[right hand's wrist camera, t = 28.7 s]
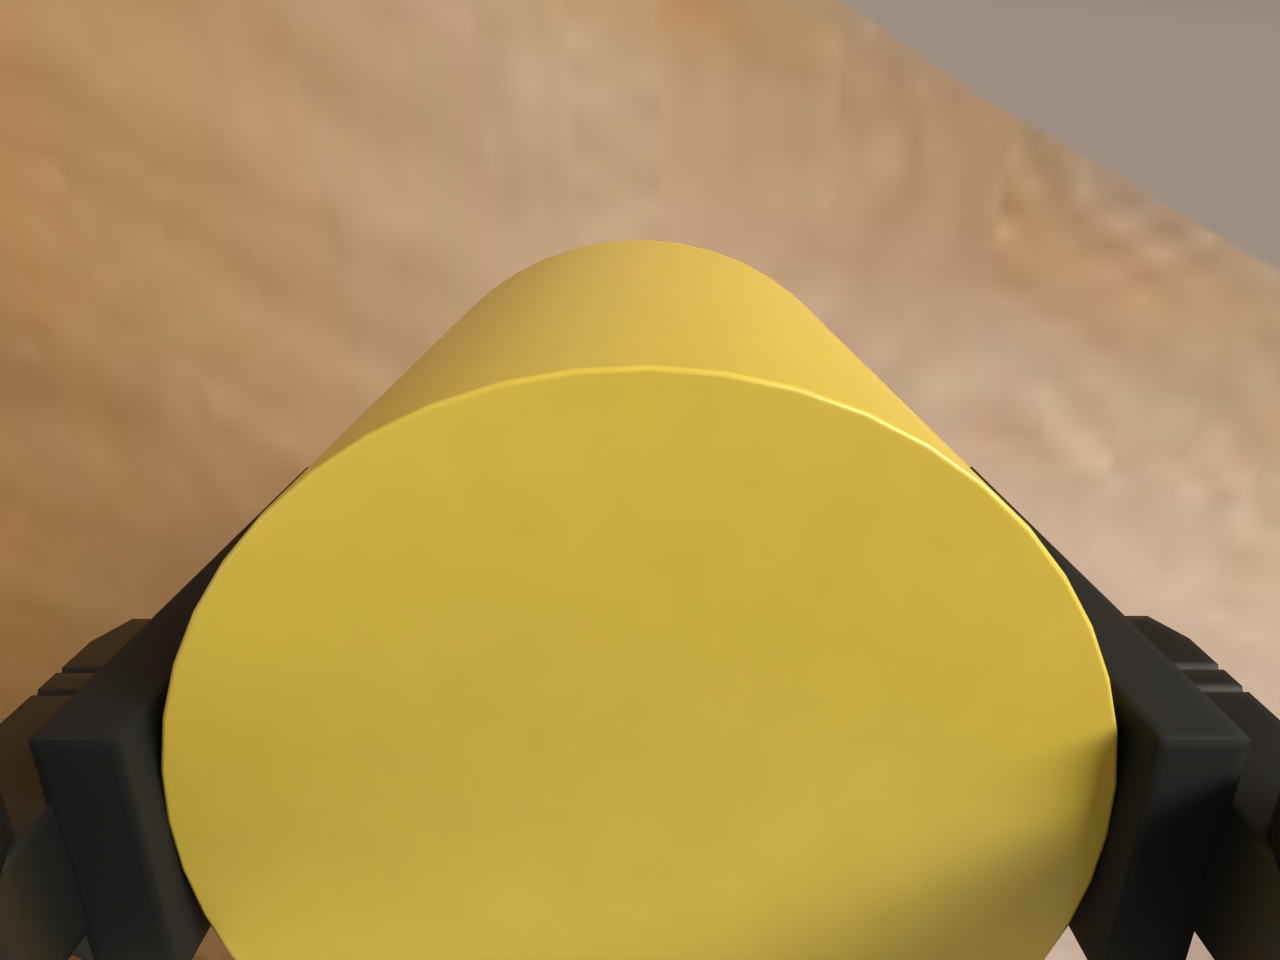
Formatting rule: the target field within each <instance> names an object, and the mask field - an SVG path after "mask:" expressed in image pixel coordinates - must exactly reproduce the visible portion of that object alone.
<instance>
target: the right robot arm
mask: <svg viewBox="0 0 1280 960" xmlns="http://www.w3.org/2000/svg"><path fill="white" fill-rule="evenodd" d="M307 468H308V467H307ZM307 468H306V469H307ZM969 468H970V469H971V470H972V471H973V472H974V473H975V474H976V475H978V476H979V477H980V478H981V479H982V480H983V481H984V482H985V483H986V484H987V485H988V486H989V487H990V488H991V489H992V490H993V491H994V492H995V493H996V494H997V495H998V496H999V497H1000V498H1001V499H1002V500H1003V501H1004V502H1005V503H1006V504H1007V505H1008V506H1009V507H1010V508H1011V509H1012V510H1013V511H1014V512H1015V513H1016V514H1017V515H1018V516H1019V517H1020V518H1021V519H1022V520H1023V521H1024V522H1025V523H1026V524H1027V525H1028V526H1029V527H1030V528H1031V529H1032V531H1033V532H1034V533H1035V535H1036V536H1037V537H1038V539H1039V540H1040V541H1041V543H1042V544H1043V545H1044V547H1045V548H1046V549H1047V551H1048V552H1049V553H1050V555H1051V556H1052V557H1053V559H1054V560H1055V561H1056V563H1057V564H1058V565H1059V567H1060V568H1061V569H1062V571H1063V572H1064V573H1065V575H1066V577H1067V578H1068V580H1069V582H1070V584H1071V586H1072V588H1073V590H1074V592H1075V594H1076V596H1077V598H1078V599H1079V601H1080V603H1081V605H1082V607H1083V609H1084V611H1085V613H1086V615H1087V617H1088V619H1089V620H1090V622H1091V624H1092V627H1093V630H1094V633H1095V636H1096V639H1097V642H1098V645H1099V648H1100V651H1101V654H1102V657H1103V660H1104V663H1105V666H1106V669H1107V672H1108V675H1109V679H1110V686H1111V692H1112V699H1113V706H1114V712H1115V719H1116V726H1117V733H1118V736H1117V786H1116V791H1115V797H1114V802H1113V808H1112V813H1111V819H1110V824H1109V830H1108V835H1107V838H1106V840H1105V843H1104V846H1103V849H1102V852H1101V855H1100V858H1099V861H1098V864H1097V866H1096V869H1095V872H1094V875H1093V878H1092V881H1091V883H1090V885H1089V887H1088V889H1087V891H1086V893H1085V894H1084V896H1083V898H1082V900H1081V902H1080V904H1079V906H1078V908H1077V910H1076V912H1075V914H1074V916H1073V917H1072V919H1071V921H1070V923H1069V927H1070V929H1071V930H1072V932H1073V934H1074V936H1075V938H1076V940H1077V941H1078V943H1079V945H1080V947H1081V949H1082V951H1083V952H1084V954H1085V956H1086V958H1087V960H1186V957H1187V954H1188V950H1189V947H1190V944H1191V940H1192V937H1193V934H1194V931H1195V933H1196V934H1197V935H1198V937H1199V938H1200V940H1201V941H1202V942H1203V944H1204V945H1205V947H1206V948H1207V950H1208V951H1209V952H1210V954H1211V955H1212V957H1213V958H1214V960H1280V720H1279V719H1278V718H1277V717H1276V716H1275V715H1273V714H1272V713H1271V712H1270V711H1269V710H1268V709H1267V708H1266V707H1265V706H1263V705H1262V704H1261V703H1260V702H1259V701H1258V700H1257V699H1256V698H1255V697H1253V696H1252V695H1251V694H1250V693H1249V692H1243V690H1242V686H1241V685H1240V684H1239V683H1238V682H1237V681H1236V680H1235V679H1233V678H1232V677H1231V676H1230V675H1229V674H1228V673H1227V672H1226V671H1225V670H1219V669H1218V664H1217V663H1216V662H1215V661H1214V660H1212V659H1211V658H1210V657H1209V656H1208V655H1207V654H1206V653H1205V652H1204V651H1202V650H1201V649H1200V648H1199V647H1198V646H1197V645H1196V644H1195V643H1194V642H1192V641H1191V640H1190V639H1189V638H1187V637H1186V636H1184V635H1182V634H1180V633H1178V632H1176V631H1174V630H1172V629H1171V628H1169V627H1167V626H1165V625H1163V624H1161V623H1159V622H1157V621H1156V620H1154V619H1152V618H1150V617H1148V616H1124V615H1123V614H1122V613H1121V612H1120V611H1119V610H1118V609H1117V608H1116V607H1115V606H1114V605H1113V604H1112V603H1111V602H1110V601H1109V600H1108V599H1107V598H1106V597H1105V596H1104V595H1103V594H1102V593H1101V592H1100V591H1099V590H1098V589H1097V588H1095V587H1094V586H1093V585H1092V584H1091V583H1090V582H1089V581H1088V580H1087V579H1086V578H1085V577H1084V576H1083V575H1082V574H1081V573H1080V572H1079V571H1078V570H1077V569H1076V568H1075V567H1074V566H1073V565H1072V564H1071V563H1070V562H1069V561H1068V560H1067V559H1066V558H1065V557H1064V556H1063V555H1062V554H1061V553H1060V552H1059V551H1058V550H1057V549H1056V548H1055V547H1053V546H1052V545H1051V544H1050V543H1049V542H1048V541H1047V540H1046V539H1045V538H1044V537H1043V536H1042V535H1041V534H1040V533H1039V532H1038V531H1037V530H1036V529H1035V528H1034V527H1033V526H1032V525H1031V524H1030V523H1029V522H1028V521H1027V520H1026V519H1025V518H1024V517H1023V516H1022V515H1021V514H1020V513H1019V512H1018V511H1017V510H1016V509H1015V508H1014V507H1012V506H1011V505H1010V504H1009V503H1008V502H1007V501H1006V500H1005V499H1004V498H1003V497H1002V496H1001V495H1000V494H999V493H998V492H997V491H996V490H995V489H994V488H993V487H992V486H991V485H990V484H989V483H988V482H987V481H986V480H985V479H984V478H983V477H982V476H981V475H980V474H979V473H978V472H977V471H976V470H975V469H974V468H973V467H969ZM306 469H305V470H306ZM305 470H304V471H305ZM304 471H303V472H304ZM303 472H302V473H303ZM302 473H301V474H302ZM301 474H300V475H301ZM300 475H299V476H300ZM299 476H298V477H299ZM298 477H297V478H298ZM297 478H296V479H297ZM296 479H295V480H296ZM295 480H294V481H295ZM294 481H293V482H294ZM293 482H291V483H290V484H289V485H288V486H287V487H286V488H285V489H284V490H283V491H282V492H281V493H280V494H279V495H278V496H277V497H276V498H275V499H274V500H273V501H272V502H271V503H270V504H269V505H268V506H267V507H266V508H268V507H269V506H270V505H271V504H272V503H273V502H274V501H275V500H276V499H277V498H278V497H279V496H280V495H281V494H282V493H283V492H284V491H285V490H286V489H287V488H288V487H289V486H290V485H291V484H292V483H293ZM266 508H265V509H266ZM265 509H264V510H265ZM264 510H263V511H264ZM263 511H262V512H263ZM262 512H261V513H262ZM261 513H260V514H259V515H258V516H257V517H256V518H255V519H254V520H253V521H252V522H250V523H249V524H248V525H247V526H246V527H245V528H244V529H243V530H242V531H241V532H240V533H239V534H238V535H237V536H236V537H235V538H234V539H233V540H232V541H231V542H230V543H229V544H228V545H227V546H226V547H225V548H224V549H223V550H222V551H221V552H220V553H219V554H218V555H217V556H216V557H215V558H214V559H213V560H212V561H210V562H209V563H208V564H207V565H206V566H205V567H204V568H203V569H202V570H201V571H200V572H199V573H198V574H197V575H196V576H195V577H194V578H193V579H192V580H191V581H190V582H189V583H188V584H187V585H186V586H185V587H184V588H183V589H182V590H181V591H180V592H179V593H178V594H177V595H176V596H175V597H174V598H173V599H172V600H171V601H169V602H168V603H167V604H166V605H165V606H164V607H163V608H162V609H161V610H160V611H159V612H158V613H157V614H156V615H155V616H154V617H153V618H152V619H132V620H130V621H128V622H126V623H125V624H123V625H121V626H119V627H117V628H115V629H113V630H112V631H110V632H108V633H106V634H104V635H102V636H100V637H99V638H97V639H95V640H93V641H91V642H90V643H89V644H88V645H87V646H86V647H84V648H83V649H82V650H81V651H80V652H79V653H78V654H77V655H76V656H75V657H73V658H72V659H71V660H70V661H69V662H68V663H67V664H66V665H65V666H64V667H62V673H56V674H55V675H54V676H53V677H51V678H50V679H49V680H48V681H47V682H46V683H45V684H44V685H43V686H42V687H40V688H39V689H38V694H37V696H31V697H29V698H28V699H27V700H26V701H25V702H24V703H23V704H22V705H21V706H20V707H18V708H17V709H16V710H15V711H14V712H13V713H12V714H11V715H10V716H9V717H7V718H6V719H5V720H4V721H3V722H2V723H1V724H0V960H68V959H69V958H70V956H71V955H72V954H73V955H75V956H77V957H79V958H80V959H82V960H192V959H193V957H194V955H195V953H196V951H197V949H198V948H199V946H200V944H201V942H202V940H203V938H204V937H205V935H206V933H207V931H208V929H209V927H210V926H211V924H210V923H209V921H208V920H207V918H206V917H205V915H204V913H203V911H202V909H201V907H200V905H199V903H198V901H197V899H196V897H195V894H194V892H193V890H192V888H191V886H190V884H189V882H188V880H187V877H186V875H185V873H184V871H183V869H182V866H181V863H180V859H179V856H178V853H177V849H176V846H175V843H174V839H173V836H172V833H171V829H170V826H169V823H168V818H167V810H166V803H165V795H164V788H163V781H162V773H161V757H162V723H163V713H164V708H165V703H166V698H167V693H168V688H169V683H170V678H171V673H172V668H173V663H174V660H175V658H176V655H177V652H178V650H179V647H180V645H181V642H182V639H183V637H184V634H185V631H186V629H187V626H188V624H189V621H190V618H191V616H192V613H193V611H194V609H195V607H196V605H197V604H198V602H199V600H200V599H201V597H202V595H203V593H204V592H205V590H206V588H207V587H208V585H209V583H210V582H211V580H212V578H213V576H214V575H215V573H216V571H217V570H218V568H219V566H220V564H221V563H222V561H223V560H224V558H225V557H226V556H227V555H228V554H229V552H230V551H231V550H232V549H233V547H234V546H235V545H236V544H237V543H238V541H239V540H240V539H241V538H242V537H243V535H244V534H245V533H246V532H247V530H248V529H249V528H250V527H251V526H252V524H253V523H254V522H255V521H256V520H257V518H258V517H259V516H260V515H261Z"/></svg>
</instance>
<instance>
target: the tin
mask: <svg viewBox="0 0 1280 960" xmlns="http://www.w3.org/2000/svg"><path fill="white" fill-rule="evenodd" d="M1117 736H1118V733H1117V726H1116V719H1115V712H1114V706H1113V699H1112V692H1111V686H1110V679H1109V675H1108V672H1107V669H1106V666H1105V663H1104V660H1103V657H1102V654H1101V651H1100V648H1099V645H1098V642H1097V639H1096V636H1095V633H1094V630H1093V627H1092V624H1091V622H1090V620H1089V619H1088V617H1087V615H1086V613H1085V611H1084V609H1083V607H1082V605H1081V603H1080V601H1079V599H1078V598H1077V596H1076V594H1075V592H1074V590H1073V588H1072V586H1071V584H1070V582H1069V580H1068V578H1067V577H1066V575H1065V573H1064V572H1063V571H1062V569H1061V568H1060V567H1059V565H1058V564H1057V563H1056V561H1055V560H1054V559H1053V557H1052V556H1051V555H1050V553H1049V552H1048V551H1047V549H1046V548H1045V547H1044V545H1043V544H1042V543H1041V541H1040V540H1039V539H1038V537H1037V536H1036V535H1035V533H1034V532H1033V531H1032V529H1031V528H1030V527H1029V526H1028V525H1027V524H1026V523H1025V522H1024V521H1023V520H1022V519H1021V518H1020V517H1019V516H1018V515H1017V514H1016V513H1015V512H1014V511H1013V510H1012V509H1011V508H1010V507H1009V506H1008V505H1007V504H1006V503H1005V502H1004V501H1003V500H1002V499H1001V498H1000V497H999V496H998V495H997V494H996V493H995V492H994V491H993V490H992V489H991V488H990V487H989V486H988V485H987V484H986V483H985V482H984V481H983V480H982V479H981V478H980V477H979V476H978V475H976V474H975V473H974V472H973V471H972V470H971V469H970V468H969V467H968V466H967V465H966V464H965V463H964V462H963V461H962V460H961V459H960V458H959V457H958V456H957V455H956V454H955V453H954V452H953V451H952V450H951V449H950V448H949V447H948V446H947V445H946V444H945V443H944V442H943V441H942V440H941V439H940V438H939V437H938V436H937V435H936V434H935V433H934V432H933V431H932V430H931V429H930V428H929V427H928V426H927V425H926V424H925V423H924V422H923V421H921V420H920V419H919V418H918V417H917V416H916V415H915V414H914V413H913V412H912V411H911V410H910V409H909V408H908V407H907V406H906V405H905V404H904V403H903V402H902V401H901V400H900V399H899V398H898V397H897V396H896V395H895V394H894V393H893V392H892V391H891V390H890V389H889V388H888V387H887V386H886V385H885V384H884V383H883V382H882V381H881V380H880V379H879V378H878V377H877V376H876V375H875V374H874V373H873V372H872V371H871V370H870V369H869V368H867V367H866V366H865V365H864V364H863V363H862V362H861V361H860V360H859V359H858V358H857V357H856V356H855V355H854V354H853V353H852V352H851V351H850V350H849V349H848V348H847V347H846V346H845V345H844V344H843V343H842V342H841V341H840V340H839V339H838V338H837V337H836V336H835V335H834V334H833V333H832V332H831V331H830V330H829V329H828V328H827V327H826V326H825V325H824V324H823V323H822V322H821V321H820V320H819V319H818V318H817V317H816V316H815V315H813V314H812V313H811V312H810V311H809V310H808V309H807V308H806V307H805V306H804V305H803V304H802V303H801V302H800V301H799V300H798V299H797V298H796V297H795V296H794V295H792V294H791V293H790V292H788V291H787V290H786V289H784V288H783V287H782V286H780V285H779V284H777V283H776V282H775V281H773V280H772V279H771V278H769V277H768V276H766V275H764V274H762V273H760V272H758V271H756V270H755V269H753V268H751V267H749V266H747V265H745V264H744V263H742V262H740V261H737V260H734V259H732V258H729V257H726V256H724V255H721V254H718V253H716V252H713V251H710V250H706V249H702V248H697V247H693V246H688V245H684V244H680V243H672V242H660V241H649V240H637V241H616V242H607V243H602V244H596V245H591V246H585V247H580V248H576V249H573V250H570V251H567V252H564V253H561V254H558V255H555V256H552V257H549V258H547V259H545V260H542V261H540V262H538V263H536V264H534V265H532V266H530V267H528V268H526V269H524V270H522V271H520V272H518V273H517V274H515V275H514V276H512V277H511V278H509V279H508V280H506V281H505V282H503V283H502V284H500V285H499V286H497V287H496V288H494V289H493V290H491V291H490V292H489V293H488V294H487V295H486V296H485V297H484V298H483V299H481V300H480V301H479V302H478V303H477V304H476V305H475V306H474V307H473V308H471V309H470V310H469V311H468V312H467V313H466V314H465V315H464V316H463V317H462V318H461V319H460V320H459V321H458V322H457V323H456V324H455V325H454V326H453V327H452V328H451V329H450V330H449V331H448V332H447V333H446V334H445V335H444V336H443V337H442V338H440V339H439V340H438V341H437V342H436V343H435V344H434V345H433V346H432V347H431V348H430V349H429V350H428V351H427V352H426V353H425V354H424V355H423V356H422V357H421V358H420V359H419V360H418V361H417V362H416V363H415V364H414V365H413V366H412V367H411V368H410V369H409V370H408V371H407V372H406V373H405V374H404V375H403V376H402V377H401V378H400V379H399V380H397V381H396V382H395V383H394V384H393V385H392V386H391V387H390V388H389V389H388V390H387V391H386V392H385V393H384V394H383V395H382V396H381V397H380V398H379V399H378V400H377V401H376V402H375V403H374V404H373V405H372V406H371V407H370V408H369V409H368V410H367V411H366V412H365V413H364V414H363V415H362V416H361V417H360V418H359V419H358V420H357V421H356V422H355V423H353V424H352V425H351V426H350V427H349V428H348V429H347V430H346V431H345V432H344V433H343V434H342V435H341V436H340V437H339V438H338V439H337V440H336V441H335V442H334V443H333V444H332V445H331V446H330V447H329V448H328V449H327V450H326V451H325V452H324V453H323V454H322V455H321V456H320V457H319V458H318V459H317V460H316V461H315V462H314V463H313V464H312V465H311V466H309V467H308V468H307V469H306V470H305V471H304V472H303V473H302V474H301V475H300V476H299V477H298V478H297V479H296V480H295V481H294V482H293V483H292V484H291V485H290V486H289V487H288V488H287V489H286V490H285V491H284V492H283V493H282V494H281V495H280V496H279V497H278V498H277V499H276V500H275V501H274V502H273V503H272V504H271V505H270V506H269V507H268V508H266V509H265V510H264V511H263V512H262V513H261V515H260V516H259V517H258V518H257V520H256V521H255V522H254V523H253V524H252V526H251V527H250V528H249V529H248V530H247V532H246V533H245V534H244V535H243V537H242V538H241V539H240V540H239V541H238V543H237V544H236V545H235V546H234V547H233V549H232V550H231V551H230V552H229V554H228V555H227V556H226V557H225V558H224V560H223V561H222V563H221V564H220V566H219V568H218V570H217V571H216V573H215V575H214V576H213V578H212V580H211V582H210V583H209V585H208V587H207V588H206V590H205V592H204V593H203V595H202V597H201V599H200V600H199V602H198V604H197V605H196V607H195V609H194V611H193V613H192V616H191V618H190V621H189V624H188V626H187V629H186V631H185V634H184V637H183V639H182V642H181V645H180V647H179V650H178V652H177V655H176V658H175V660H174V663H173V668H172V673H171V678H170V683H169V688H168V693H167V698H166V703H165V708H164V713H163V723H162V757H161V773H162V781H163V788H164V795H165V803H166V810H167V818H168V823H169V826H170V829H171V833H172V836H173V839H174V843H175V846H176V849H177V853H178V856H179V859H180V863H181V866H182V869H183V871H184V873H185V875H186V877H187V880H188V882H189V884H190V886H191V888H192V890H193V892H194V894H195V897H196V899H197V901H198V903H199V905H200V907H201V909H202V911H203V913H204V915H205V917H206V918H207V920H208V921H209V923H210V924H211V926H212V927H213V929H214V930H215V932H216V933H217V935H218V936H219V938H220V939H221V941H222V943H223V944H224V946H225V947H226V949H227V950H228V952H229V953H230V955H231V956H232V957H233V958H234V959H235V960H1044V959H1045V958H1046V956H1047V955H1048V953H1049V952H1050V951H1051V949H1052V948H1053V946H1054V945H1055V944H1056V942H1057V941H1058V939H1059V938H1060V936H1061V935H1062V934H1063V932H1064V931H1065V929H1066V928H1067V927H1068V925H1069V923H1070V921H1071V919H1072V917H1073V916H1074V914H1075V912H1076V910H1077V908H1078V906H1079V904H1080V902H1081V900H1082V898H1083V896H1084V894H1085V893H1086V891H1087V889H1088V887H1089V885H1090V883H1091V881H1092V878H1093V875H1094V872H1095V869H1096V866H1097V864H1098V861H1099V858H1100V855H1101V852H1102V849H1103V846H1104V843H1105V840H1106V838H1107V835H1108V830H1109V824H1110V819H1111V813H1112V808H1113V802H1114V797H1115V791H1116V786H1117Z"/></svg>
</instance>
